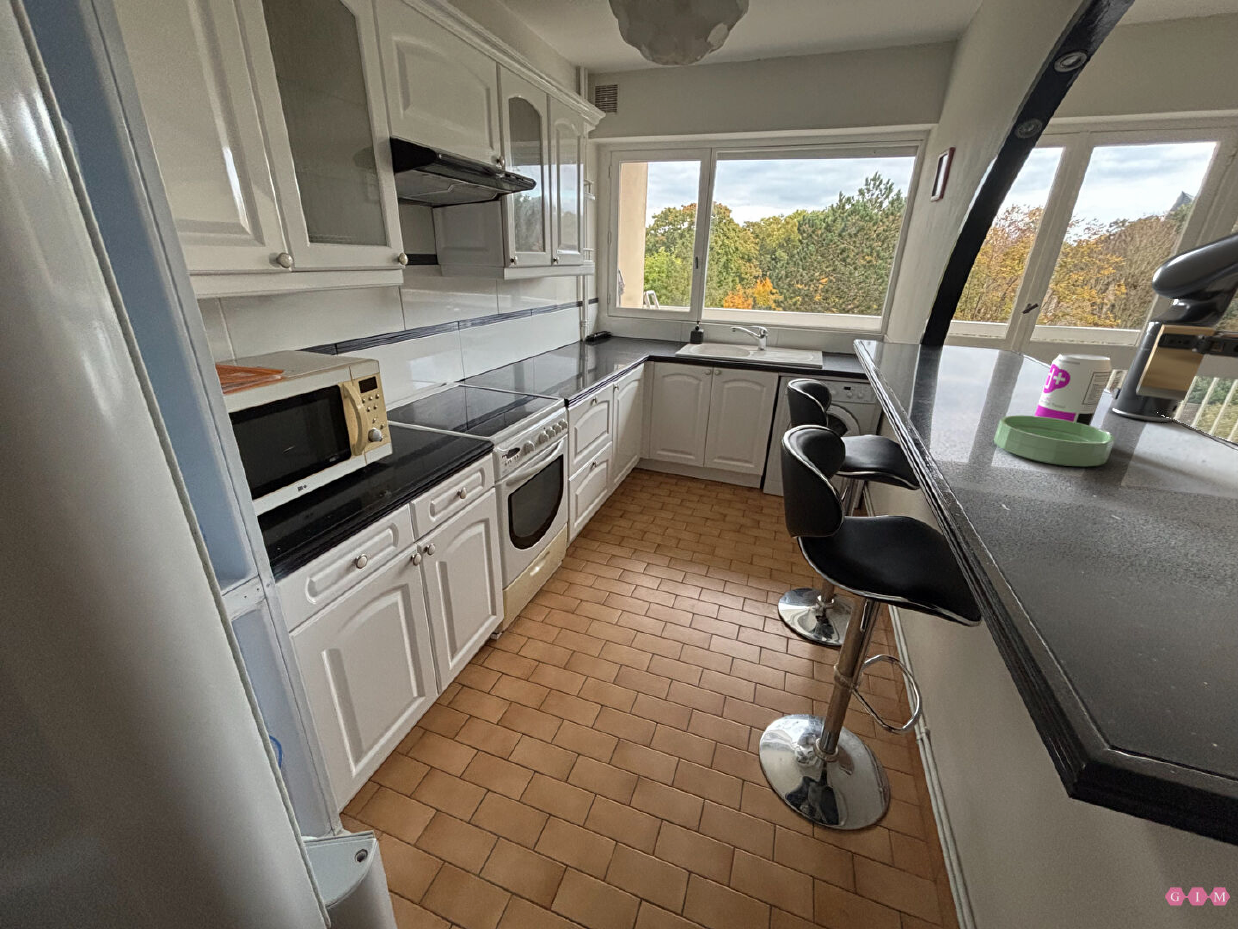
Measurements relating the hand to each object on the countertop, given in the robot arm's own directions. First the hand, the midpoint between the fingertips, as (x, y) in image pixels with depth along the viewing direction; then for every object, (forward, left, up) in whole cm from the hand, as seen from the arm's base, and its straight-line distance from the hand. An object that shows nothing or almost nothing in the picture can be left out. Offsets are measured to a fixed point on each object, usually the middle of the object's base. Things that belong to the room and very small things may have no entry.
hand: (1158, 338), depth 82 cm
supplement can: (-5, -7, -20) cm, 21 cm away
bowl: (+8, -11, -19) cm, 24 cm away
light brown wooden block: (+1, +3, -9) cm, 9 cm away
